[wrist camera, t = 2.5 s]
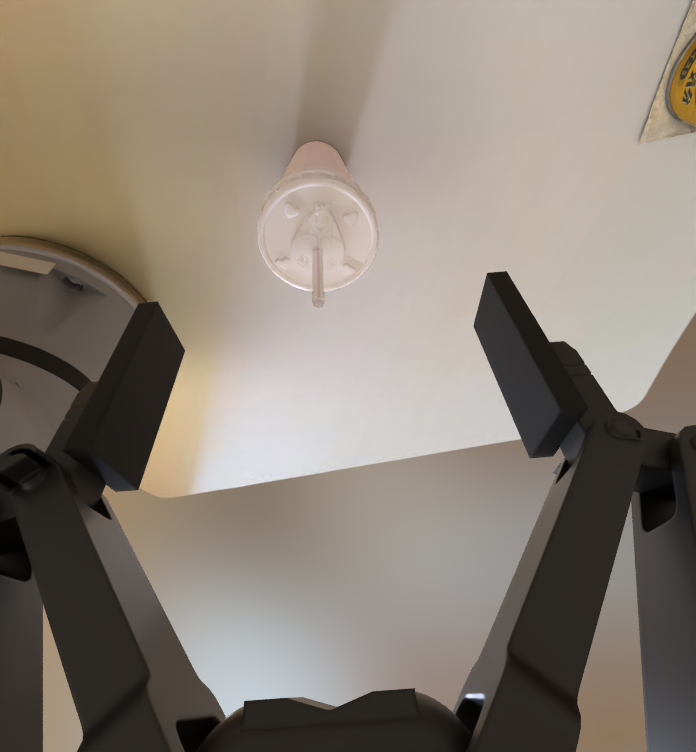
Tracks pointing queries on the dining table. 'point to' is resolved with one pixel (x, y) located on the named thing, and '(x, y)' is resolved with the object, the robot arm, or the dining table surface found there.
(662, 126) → the condiment
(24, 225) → the dining table surface
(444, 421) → the dining table surface
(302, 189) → the smoothie
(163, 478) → the dining table surface
